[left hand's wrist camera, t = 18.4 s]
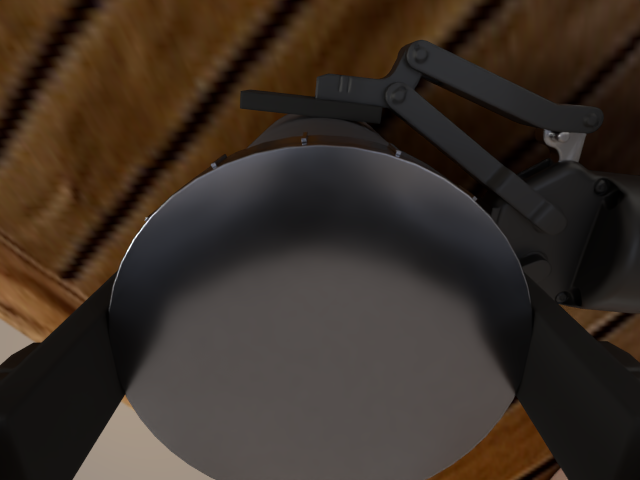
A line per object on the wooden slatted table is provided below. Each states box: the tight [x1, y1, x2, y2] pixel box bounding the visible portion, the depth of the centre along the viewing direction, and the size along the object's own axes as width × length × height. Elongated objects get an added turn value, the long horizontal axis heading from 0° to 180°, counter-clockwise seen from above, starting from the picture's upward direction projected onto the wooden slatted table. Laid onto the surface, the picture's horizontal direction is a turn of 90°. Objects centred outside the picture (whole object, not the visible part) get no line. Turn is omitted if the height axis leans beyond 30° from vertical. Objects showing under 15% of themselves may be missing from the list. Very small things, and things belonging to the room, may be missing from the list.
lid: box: [108, 132, 532, 480], centre depth 12 cm, size 11×11×2 cm
